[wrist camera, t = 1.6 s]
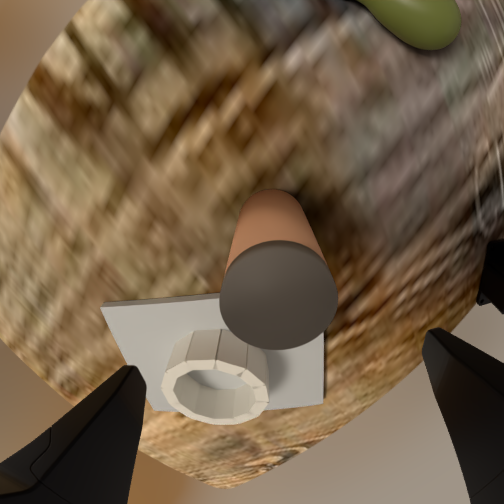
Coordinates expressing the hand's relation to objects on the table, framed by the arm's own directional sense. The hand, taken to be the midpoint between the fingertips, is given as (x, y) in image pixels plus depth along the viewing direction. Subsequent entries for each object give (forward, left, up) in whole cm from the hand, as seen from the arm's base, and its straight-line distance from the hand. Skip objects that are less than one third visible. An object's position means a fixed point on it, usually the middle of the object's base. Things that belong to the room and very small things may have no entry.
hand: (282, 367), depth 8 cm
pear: (-10, -15, -13) cm, 23 cm away
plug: (0, 0, -13) cm, 13 cm away
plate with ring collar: (+6, +12, -13) cm, 19 cm away
